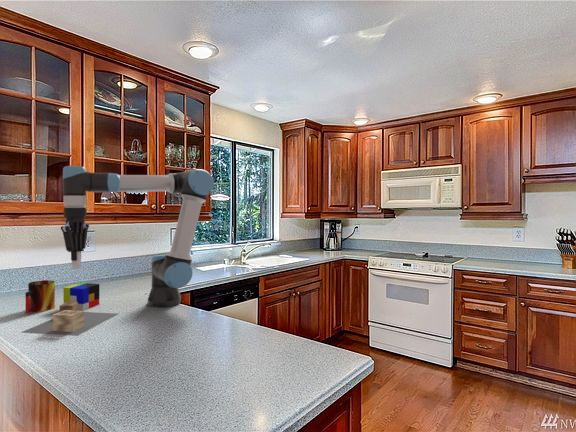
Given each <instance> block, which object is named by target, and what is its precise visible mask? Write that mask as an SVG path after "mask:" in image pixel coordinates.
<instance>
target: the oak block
mask: <svg viewBox="0 0 576 432" xmlns="http://www.w3.org/2000/svg"><path fill="white" fill-rule="evenodd" d="M84 312H85V310H84V311H80V310H78V311H75V310H63V311H61V312H60V311H59V312H56V313H53V314H52V319H53V331H64V332H74V331H76V330H78V329H80V328H82V327H84Z"/></svg>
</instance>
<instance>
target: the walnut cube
mask: <svg viewBox="0 0 576 432" xmlns="http://www.w3.org/2000/svg"><path fill="white" fill-rule="evenodd" d="M58 308H59V312H61V311H63V310H75V311H79V310H78V302H65V303H64V302H62V304H60V305H59V307H58Z"/></svg>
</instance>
